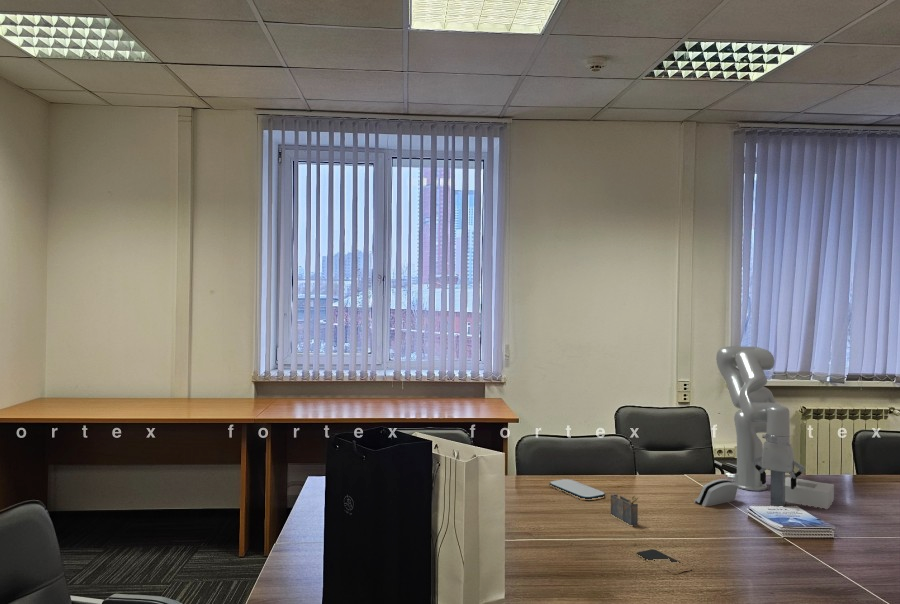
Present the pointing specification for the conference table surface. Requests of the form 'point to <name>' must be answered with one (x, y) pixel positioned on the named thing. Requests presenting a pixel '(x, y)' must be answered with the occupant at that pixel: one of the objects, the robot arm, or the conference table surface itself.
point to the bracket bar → (777, 488)
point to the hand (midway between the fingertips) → (778, 486)
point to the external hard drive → (577, 489)
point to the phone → (655, 555)
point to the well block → (809, 493)
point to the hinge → (717, 492)
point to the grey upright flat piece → (625, 509)
